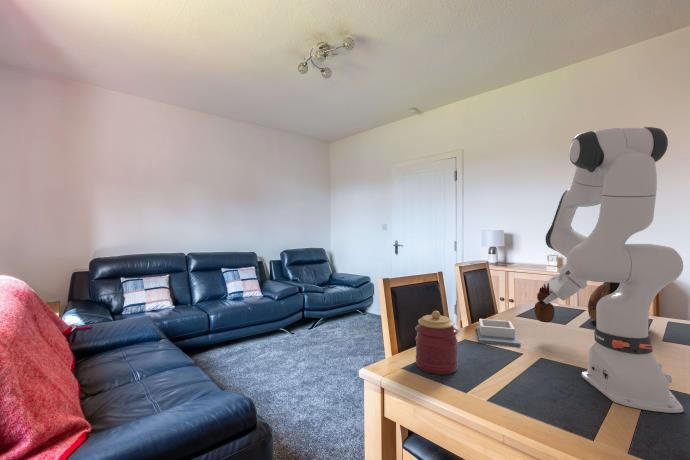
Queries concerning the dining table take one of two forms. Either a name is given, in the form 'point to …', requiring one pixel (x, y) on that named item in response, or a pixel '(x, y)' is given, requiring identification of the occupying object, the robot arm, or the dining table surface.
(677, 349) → the dining table surface
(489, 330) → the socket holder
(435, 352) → the canister
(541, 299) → the wooden figurine
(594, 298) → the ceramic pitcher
